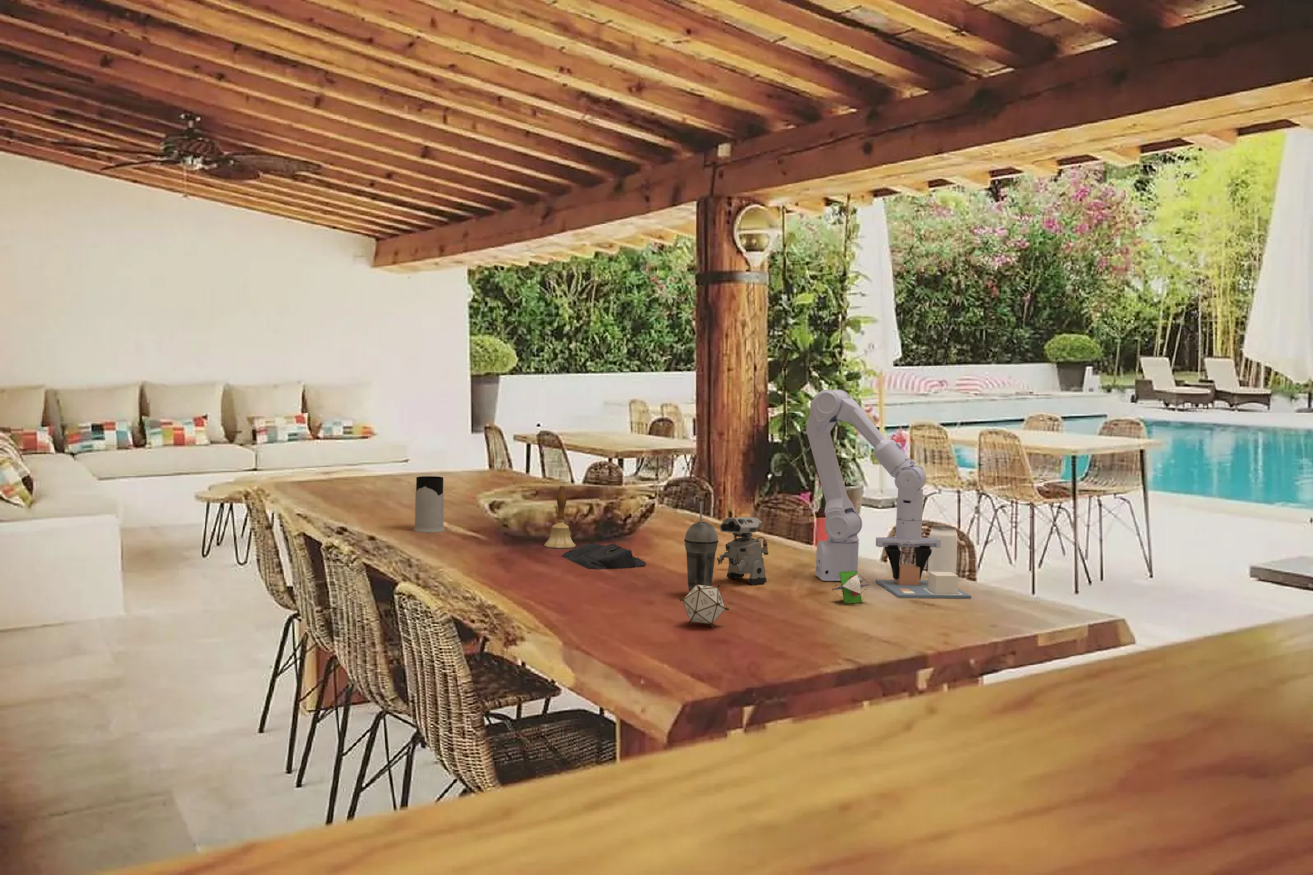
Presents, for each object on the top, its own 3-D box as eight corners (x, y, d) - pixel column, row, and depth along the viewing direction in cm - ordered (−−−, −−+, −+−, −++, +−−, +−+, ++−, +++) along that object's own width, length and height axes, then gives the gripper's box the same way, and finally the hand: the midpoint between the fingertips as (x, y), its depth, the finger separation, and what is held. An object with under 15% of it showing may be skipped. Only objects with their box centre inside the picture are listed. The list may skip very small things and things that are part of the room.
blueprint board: (898, 597, 252) (899, 594, 252) (875, 582, 270) (875, 579, 270) (971, 598, 254) (971, 595, 254) (943, 582, 272) (943, 579, 271)
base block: (935, 594, 254) (936, 575, 254) (927, 589, 259) (928, 571, 259) (957, 594, 255) (958, 576, 255) (949, 589, 260) (950, 571, 260)
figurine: (707, 581, 265) (709, 515, 264) (745, 577, 272) (747, 512, 271) (732, 588, 258) (735, 520, 257) (772, 583, 265) (774, 517, 264)
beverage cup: (720, 593, 251) (723, 500, 250) (711, 599, 245) (714, 504, 243) (688, 590, 254) (691, 498, 253) (678, 596, 247) (680, 501, 246)
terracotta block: (899, 584, 264) (900, 567, 264) (894, 581, 269) (894, 563, 268) (919, 585, 265) (920, 567, 264) (913, 581, 269) (913, 564, 269)
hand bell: (558, 542, 316) (559, 483, 315) (582, 546, 311) (583, 486, 310) (537, 546, 309) (539, 485, 308) (561, 549, 304) (563, 488, 303)
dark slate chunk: (613, 554, 301) (614, 536, 301) (650, 569, 282) (650, 549, 281) (557, 557, 295) (558, 538, 295) (590, 572, 275) (591, 552, 275)
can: (956, 580, 275) (958, 530, 274) (928, 579, 276) (930, 528, 275) (955, 576, 281) (957, 526, 280) (927, 574, 282) (929, 524, 282)
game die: (693, 643, 221) (675, 595, 226) (735, 627, 222) (717, 580, 226) (689, 629, 213) (671, 580, 218) (733, 613, 214) (714, 564, 218)
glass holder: (408, 531, 328) (409, 478, 327) (426, 525, 342) (427, 473, 341) (438, 533, 327) (439, 479, 326) (455, 526, 341) (456, 475, 340)
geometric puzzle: (823, 588, 249) (836, 562, 245) (850, 586, 252) (864, 560, 247) (836, 613, 244) (850, 587, 240) (864, 611, 247) (878, 585, 242)
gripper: (882, 521, 261) (880, 581, 262) (946, 522, 262) (943, 582, 263) (874, 516, 268) (871, 575, 269) (935, 518, 269) (933, 576, 270)
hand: (906, 578), depth 267 cm, fingers closed on terracotta block, 4 cm apart
